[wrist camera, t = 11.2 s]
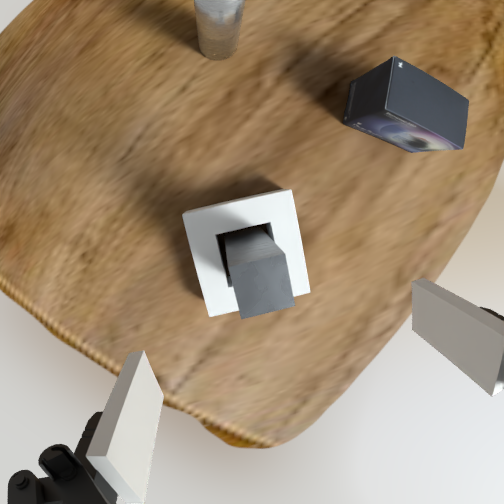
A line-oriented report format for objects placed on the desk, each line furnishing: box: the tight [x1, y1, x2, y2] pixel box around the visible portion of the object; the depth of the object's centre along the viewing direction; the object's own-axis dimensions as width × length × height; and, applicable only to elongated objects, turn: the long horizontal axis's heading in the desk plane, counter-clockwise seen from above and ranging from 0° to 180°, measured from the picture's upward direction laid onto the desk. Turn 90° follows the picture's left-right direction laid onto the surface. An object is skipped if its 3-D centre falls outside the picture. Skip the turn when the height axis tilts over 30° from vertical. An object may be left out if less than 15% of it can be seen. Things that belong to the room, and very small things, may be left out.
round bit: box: [194, 0, 245, 60], centre depth 24 cm, size 4×4×14 cm
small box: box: [343, 56, 469, 153], centre depth 29 cm, size 11×6×10 cm, turn 76°
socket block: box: [182, 189, 310, 317], centre depth 34 cm, size 11×11×4 cm
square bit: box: [224, 226, 295, 319], centre depth 29 cm, size 4×4×14 cm
